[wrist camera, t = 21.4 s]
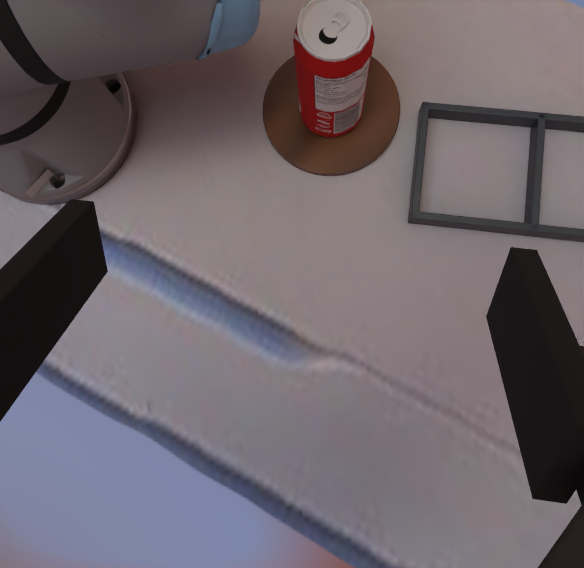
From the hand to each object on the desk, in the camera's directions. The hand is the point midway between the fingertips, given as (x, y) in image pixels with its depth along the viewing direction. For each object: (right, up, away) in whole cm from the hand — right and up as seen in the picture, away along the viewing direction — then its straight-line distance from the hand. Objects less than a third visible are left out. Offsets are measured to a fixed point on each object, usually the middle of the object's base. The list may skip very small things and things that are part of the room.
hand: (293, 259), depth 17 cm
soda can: (+3, +14, +29) cm, 33 cm away
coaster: (+3, +15, +30) cm, 33 cm away
